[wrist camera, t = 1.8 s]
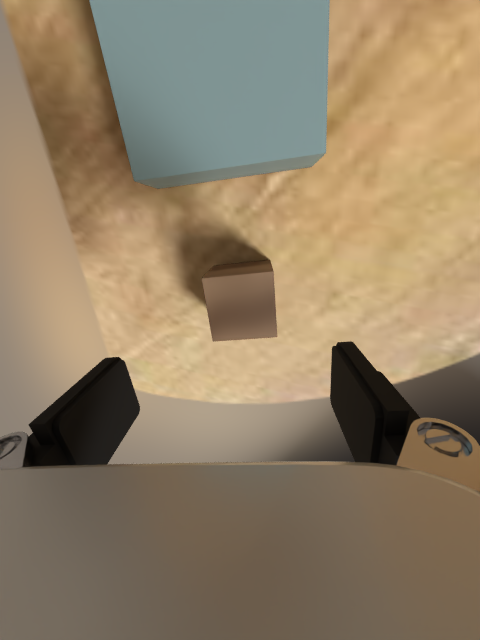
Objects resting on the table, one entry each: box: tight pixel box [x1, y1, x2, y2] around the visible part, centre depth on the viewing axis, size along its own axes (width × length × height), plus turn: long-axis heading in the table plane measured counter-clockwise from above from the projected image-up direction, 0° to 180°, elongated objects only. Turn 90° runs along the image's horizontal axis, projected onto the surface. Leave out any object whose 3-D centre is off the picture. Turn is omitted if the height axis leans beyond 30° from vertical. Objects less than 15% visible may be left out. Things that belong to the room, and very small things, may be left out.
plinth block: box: [89, 0, 329, 189], centre depth 14 cm, size 12×12×4 cm
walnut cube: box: [202, 260, 277, 341], centre depth 19 cm, size 5×5×5 cm
